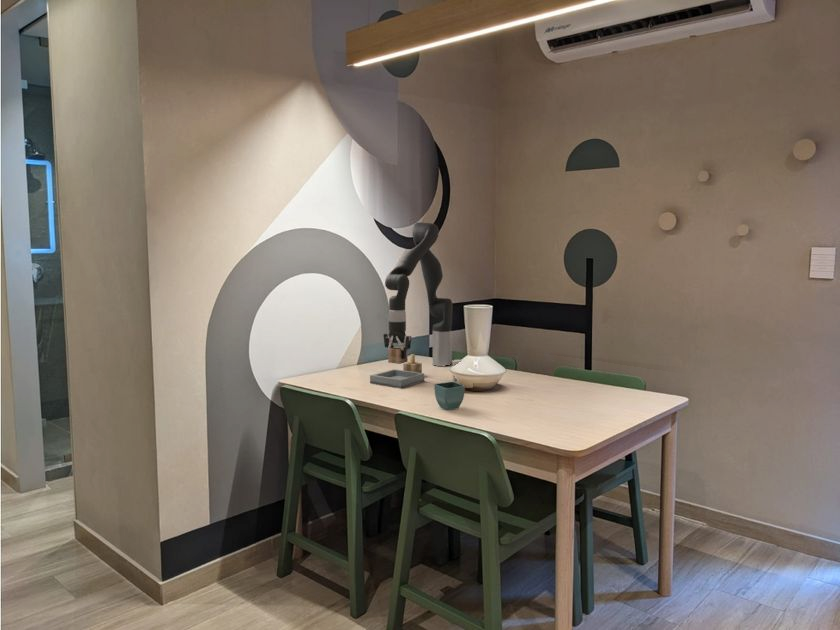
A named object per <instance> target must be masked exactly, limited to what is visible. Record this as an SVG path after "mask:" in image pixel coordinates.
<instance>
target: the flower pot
mask: <svg viewBox="0 0 840 630" xmlns="http://www.w3.org/2000/svg"><path fill="white" fill-rule="evenodd" d="M433 388H434V396H435V400H436V402H437V404H438V406H439V407H440V408H442V409H444V410H446V411H450V410H451V411H452V410H457V409H456V408H458V409H459V408H460V406H461V404H462V403H463V402H464V401H463V400H464V397H465V391H466V389H465V386H464V385H461V384H458V383H456V382H453V381H448V382H439V383H433Z"/></svg>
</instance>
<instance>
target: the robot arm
mask: <svg viewBox="0 0 840 630" xmlns="http://www.w3.org/2000/svg"><path fill="white" fill-rule="evenodd" d="M411 231H412V234H411V236H412V238H413V239H412V240H413V243H414V245H415V247H413V248H411V249H410V250H409V251H407V252H406V253H405V254H404V255H403V256H402V258H401V259H400V261H399V263H398V264H397V266H395V267H394V268H393V269H392V270H391V271H390V272H389V273H388V274H387V275H386V277H385V281H384V285H385V287H386V289H387V290H389V291H396V295H391V296H390V297H389V299H388V303H389V304H388V308H389V309H388V331H389V333H384V334H383V343H384V348H387V349H390V348H394V347H395V345H396V344H398V347H401V350H402V351H401V359H405V358H406V350H407V351H408V350H410V349H411V344H412V336H411V335H407V334H406V330H407V315H406V312H407V311H406V299H407V295H408V291H409V288H410V279H409V276H411V275H412V273H414V270H415V268H416V267H417V266H418V263H419V262H420V267H421V268H420V269H421V271H422V276H423V280H424V284H425V289H426V293H427V294H426V295H427V301H428V310H429V313H430V315H431V316H432V317H438V318H443V319H442V321H440V322H437V323H435V324H433V325H432V365H433V366H434V365H436V366H435V367H444V366H443V365H449V364H451V363H452V364H453V345H452V325H453V310H454V309H453V306H454V305H453V301H452V298H446V297H445V298H443V297H437V290H438V288H439V286H440V285H441V283H442V280H443V277H444V276H443V269H442V266H441V262H440V261H439V259H438V258H437V256H436V255H435V254H434V253H433V252H432V250H431V248H432V247H433V245H434V244H435V243H436V242H437V240H438V237H439V233H440V232H439V227H438V226H437V225H436V223H433V222H432V223H431V222H415V223H414V225H413V226H412V230H411ZM452 364H451V365H452Z"/></svg>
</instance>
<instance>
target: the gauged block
mask: <svg viewBox="0 0 840 630" xmlns="http://www.w3.org/2000/svg"><path fill="white" fill-rule="evenodd" d="M409 356H410V359H409V360H410V361H408V362H405V363H402V365H403V370H404V371H411V372H418V373H423V369H422V366H423V363H422V362H418V361H417V362H416V361H415V360H416V354H414V353H413V354H410V355H409Z"/></svg>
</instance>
